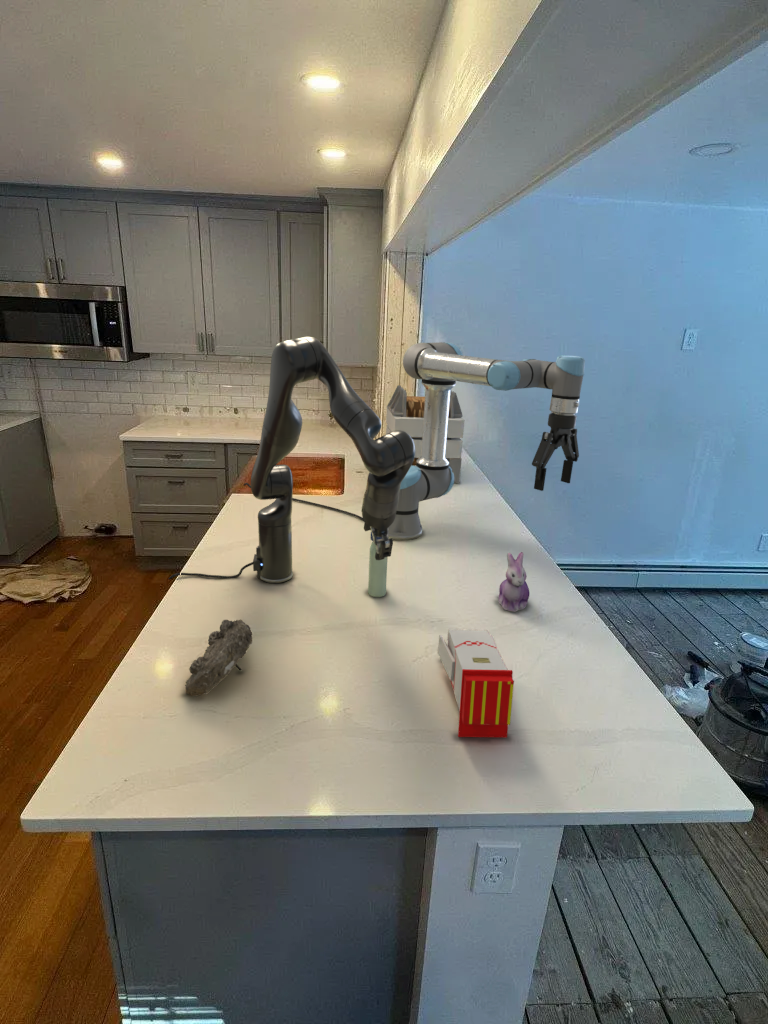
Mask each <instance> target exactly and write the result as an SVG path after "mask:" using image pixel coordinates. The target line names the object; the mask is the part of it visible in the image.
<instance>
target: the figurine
mask: <svg viewBox="0 0 768 1024" xmlns="http://www.w3.org/2000/svg"><path fill="white" fill-rule="evenodd" d="M506 556H507V569H506V571H505V579H504V580H502V581H501V583H500V585H499V591H498V592H499V593H498V597H497V598H498V600H497V601H498V604H499V605H500V606H501V607H502V609H503V610H505V611H507V612H508V611H509V612H518V611H520V610H521V611H522V610H524V609H525V608H526V607H527V605H528V601H529V599H530V588H529V585H528V584H527V581H526V580H527V571H526V570H525V567H524V552H523V551H520V552H519V553H518V555H517V557H516V559H515V557H514V556H513V554H512V553H511V552H508V553H507V555H506Z"/></svg>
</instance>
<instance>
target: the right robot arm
mask: <svg viewBox="0 0 768 1024" xmlns="http://www.w3.org/2000/svg"><path fill="white" fill-rule="evenodd" d="M585 365H586V360H585V358H584V357H582V356H578V355H566V354H565V355H564V354H563V355H558V356H557V357H556V360H555V361H549V360H541V359H536V358H524V359H521V360H506V359H505V360H504V359H503V360H502V359H496V358H487V357H479V356H471V355H464V354H463V352H462V350H461V349H460V347H459V346H457V345H456V344H455V343H451V342H445V341H443V342H442V341H441V342H440V341H439V342H438V341H437V342H417V343H414V344H412V345H411V346H409V347H408V348H407V350H406V351H405V353H404V355H403V358H402V366H403V369H404V372H405V373H406V374H407V375H408V376H409V377H411V378H412V379H415V380H421V385H422V386H423V387H424V389H425V392H424V397H425V404H424V419H423V434H422V449H421V457H420V458H418V459H417V461H416V466H413V465H411V467H410V469H409V471H408V472H407V474H406V476H405V477H404V479H403V480H402V482H401V485H400V490H399V501H398V506H397V511H396V516H395V520H394V522H393V523H392V524H391V525H390V526H389V527H388V538H389V539H392V540H395V541H410V540H415V539H418V538H420V537H421V536H422V535H423V525H422V524H421V518H420V515H419V507H420V506H419V505H420V502H423V501H427V500H431V499H437V498H440V497H443V496H446V495H448V493H450V492H451V490H452V489H453V488H454V487H453V486H454V484H455V483H454V473H452V469H451V467H450V466H449V462H448V461H447V459H446V458H445V453H446V441H447V428H448V416H449V404H450V392H451V391H452V389H453V388H454V387H455V386H456V384H457V382H461V383H465V384H473V385H479V386H487V387H491V388H492V389H494V390H496V391H503V392H504V391H511V390H520V389H532V388H533V389H534V388H539V389H546V390H551V398H550V404H549V413H548V418H547V419H548V420H547V426H548V427H549V428H550V431H549V432H548V431H543V432H542V435H541V440H540V442H539V445H538V447H537V449H536V452H535V454H534V457H533V460H532V461H531V466H533V467H535V475H534V477H535V478H534V485H533V489H534V490H537V491H539V492H543V491H544V489H545V484H546V483H545V482H546V476H547V468H546V466H547V465H548V463H549V461H550V459H551V457H552V456H553V454H554V453H555V451H556V450H557V449H558V448H560V447H561V449H562V452H563V455H564V458H565V459H563V463H562V468H561V469H562V470H561V475H560V482H562V483H566V484H571V478H572V472H573V466H574V463H576V462H578V461H579V457H580V453H579V444H578V428H576V423H577V419H578V416H577V414H578V412H579V411H578V410H579V406H580V397H581V391H582V385H583V380H584V376H585ZM243 486H245V487H246V486H248V488H250V489H251V484H250V483H248V482H245V483H243ZM292 501H293V502H299V503H304V504H308V505H313V506H317V507H321V508H324V509H327V510H332V511H336V512H339V513H343V514H346V515H350V516H352V517H355V518H356V519H357V518H358V519H360V520H361V521H363V522H365V521H364V520H363V517H362V516H360V515H358V514H355V513H352V512H349V511H346V510H343V509H341V508H336V507H333V506H329V505H324V504H320V503H318V502H317V503H316V502H312V501H308V500H303V499H300V498H294V497H292Z"/></svg>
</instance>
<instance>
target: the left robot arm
mask: <svg viewBox="0 0 768 1024" xmlns="http://www.w3.org/2000/svg"><path fill="white" fill-rule="evenodd" d="M270 359H271V360H270V369H269V370H270V372H269V386H268V396H267V401H266V402H267V403H266V409H265V413H264V417H263V422H262V427H261V432H260V433H261V434H260V439H259V440H260V441H259V447H258V451H257V455H256V458H255V461H254V465H253V467H252V470H251V476H250V486H251V488H250V490H251V493H252V496H253V497H254V498H255V499H256V500H262V501H267V500H274V501H273V502H272V503H270V504H269V505H267V506H264V507H263V508H260V509H259V511H258V513H257V528H258V546H256V548H255V553H254V555H253V560H252V562H249V563H247V564H245V565H244V566H242V567H241V568H240V570H239V572H238V573H237V574H234V575H220V574H219V575H216V574H206V573H196V572H175V573H174V574H171V575H170V576H169V577H168V580H173V579H174V578H175V577H177V576H187V577H188V576H189V577H202V578H203V577H204V578H210V579H213V578H214V579H237V578H238V577H240V576H241V575H242V573H243V571H244V570H245V569H247V568H248V567H251V566H252V568H253V572H256V577H257V579H259V580H261V581H262V582H265V583H268V584H269V583H270V584H280V583H285V582H288V581H290V580H291V579H292V578H293V575H294V574H293V536H292V535H293V534H292V533H293V529H292V528H293V527H292V525H293V523H292V515H293V500H292V498H293V493H294V477H293V472H292V470H291V468H290V466H289V465H287V464H283V463H282V464H279V463H280V462H281V461H282V460H283V459H285V458H287V456H289V455H290V454H291V453H292V451H293V450H294V449H295V448H296V446H297V445H298V442H299V440H300V436H301V432H302V428H303V417H302V414H301V412H300V410H299V408H298V407H297V405H296V404H295V402H294V401H293V399H292V397H293V391H294V388H295V386H296V385H298V384H301V383H305V382H309V381H313V380H316V379H317V380H318V381H319V382H321V383H322V384H323V385H324V386H325V387H326V388H327V392H328V402H329V409H330V413H331V416H332V417H333V419H334V420H335V422H336V423H337V425H338V426H339V427H340V428H341V429H342V430H343V431H344V432H345V434H347V436H348V437H349V438H350V439H351V440H352V442H353V444H354V446H355V448H356V450H357V452H358V453H359V456H360V458H361V461H362V463H363V465H364V467H365V469H366V470H367V471H368V475H367V479H366V480H367V481H366V488H365V491H364V495H363V499H362V504H361V505H362V506H361V517H362V518H363V520H364V521H363V520H362V521H363V522H364V524H363V530H364V532H370V533H371V532H372V536H373V541H372V542H373V543H374V544H375V545H376V554H375V559H376V560H382V559H384V558H385V557H387V558H388V557H389V558H390V557H391V556H392V551H393V544H394V539H390V538H388V527H389V526H390V525H391V524H392V523H393V522H394V520H395V516H396V511H397V506H398V501H399V490H400V485H401V482H402V480H403V479H404V477H405V476H406V474H407V472H408V471H409V469H410V467H411V465H412V463H413V460H414V457H415V445H414V442H413V440H412V438H411V436H410V435H409V434H408V433H406V432H404V431H401V430H396V431H392V432H390V433H388V434H386V433H385V434H384V435H382V436H380V437H378V438H376V437H377V436H378V434H379V433H380V432H381V429H382V420H381V418H380V417H379V416H378V414H377V413H376V412H375V411H374V410H373V409H372V408H371V407H370V406H369V404H367V403H366V401H364V399H362V398H361V397H360V395H359V394H358V393H357V392H356V391H355V390H354V388H353V387H352V386H351V384H350V382H349V381H348V380H347V378H346V377H345V375H344V373H343V372H342V371H341V369H340V367H339V365H338V364H337V362H335V360H334V358H333V357H332V355H331V354H330V353H329V350H328V349H327V348H326V347H325V346H324V344H323V343H322V342H321V341H320V340H319V339H317V337H314V336H303V337H297V338H292V339H291V338H290V339H287V340H282V341H280V342H278V343H277V344H276V345H275V346H274V348H273V350H272V353H271V358H270ZM375 438H376V439H375ZM376 537H382V539H378V540H376ZM379 545H380V548H379ZM180 573H181V575H180Z"/></svg>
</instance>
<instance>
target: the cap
mask: <svg viewBox="0 0 768 1024" xmlns="http://www.w3.org/2000/svg"><path fill="white" fill-rule="evenodd" d="M378 539H382V537H376V540H378ZM370 541H372V542H373V536H372V532H371V531H370Z"/></svg>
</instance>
